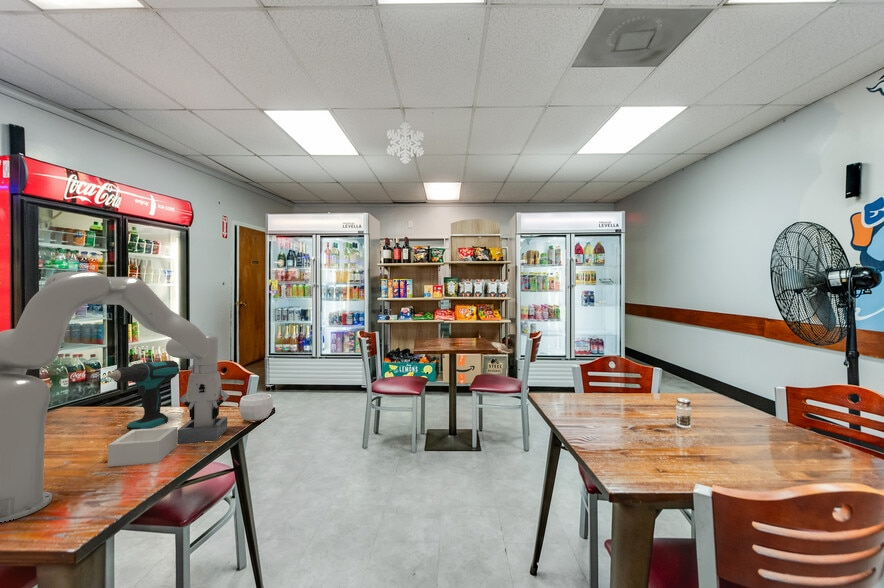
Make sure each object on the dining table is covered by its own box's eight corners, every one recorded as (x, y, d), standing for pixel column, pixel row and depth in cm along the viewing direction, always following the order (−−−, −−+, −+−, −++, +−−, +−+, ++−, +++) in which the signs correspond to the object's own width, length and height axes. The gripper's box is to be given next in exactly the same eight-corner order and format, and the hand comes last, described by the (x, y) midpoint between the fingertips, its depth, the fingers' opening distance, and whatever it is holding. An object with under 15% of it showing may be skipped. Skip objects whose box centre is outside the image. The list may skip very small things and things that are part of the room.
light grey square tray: (158, 462, 114) (158, 441, 114) (107, 466, 111) (108, 444, 111) (177, 446, 126) (177, 426, 127) (131, 449, 123) (132, 429, 123)
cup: (277, 415, 160) (278, 393, 160) (263, 425, 148) (263, 401, 148) (249, 415, 160) (249, 392, 160) (232, 425, 148) (233, 400, 148)
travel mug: (189, 438, 134) (190, 382, 134) (207, 432, 139) (208, 378, 140) (199, 441, 131) (200, 384, 131) (217, 435, 137) (219, 380, 137)
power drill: (116, 440, 130) (118, 369, 131) (96, 438, 132) (97, 367, 132) (182, 417, 156) (183, 357, 156) (164, 416, 158) (166, 356, 158)
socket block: (216, 441, 131) (216, 427, 131) (177, 444, 128) (177, 429, 128) (227, 429, 142) (227, 416, 142) (191, 432, 139) (191, 418, 139)
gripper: (173, 371, 130) (172, 423, 129) (228, 370, 134) (227, 420, 134) (182, 367, 137) (181, 417, 137) (234, 366, 141) (233, 414, 141)
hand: (204, 418), depth 135 cm, fingers closed on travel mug, 6 cm apart
